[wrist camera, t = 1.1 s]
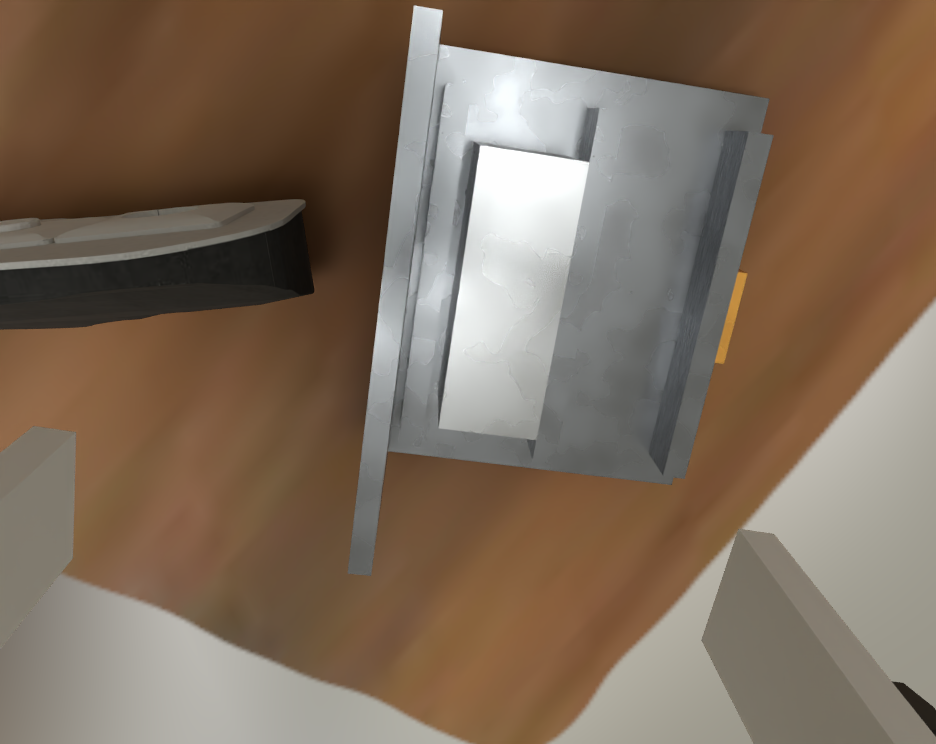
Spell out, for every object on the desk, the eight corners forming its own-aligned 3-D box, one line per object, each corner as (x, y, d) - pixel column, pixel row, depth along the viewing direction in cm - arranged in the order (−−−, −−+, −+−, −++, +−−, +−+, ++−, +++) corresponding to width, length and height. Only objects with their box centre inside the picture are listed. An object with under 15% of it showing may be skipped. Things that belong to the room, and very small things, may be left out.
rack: (420, 44, 33) (414, 5, 21) (755, 99, 34) (918, 90, 22) (373, 436, 38) (347, 573, 27) (662, 471, 39) (756, 616, 28)
